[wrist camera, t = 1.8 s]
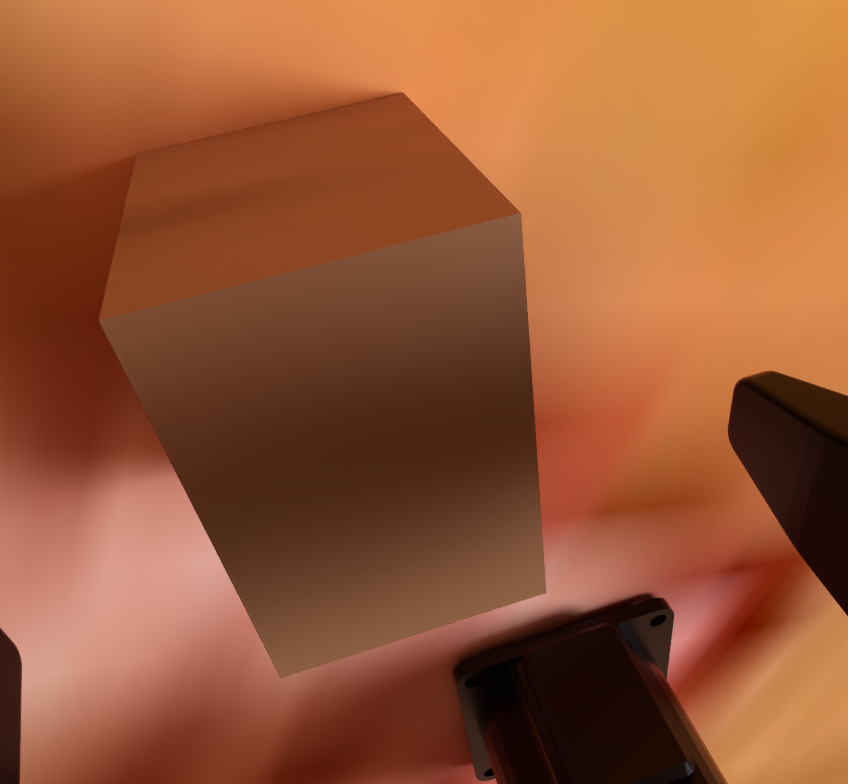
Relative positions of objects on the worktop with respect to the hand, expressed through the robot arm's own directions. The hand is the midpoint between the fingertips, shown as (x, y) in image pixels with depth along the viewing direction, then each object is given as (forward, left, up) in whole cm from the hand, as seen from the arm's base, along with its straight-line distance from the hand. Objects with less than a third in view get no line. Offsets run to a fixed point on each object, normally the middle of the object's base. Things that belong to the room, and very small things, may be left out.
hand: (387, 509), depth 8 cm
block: (0, 0, -5) cm, 5 cm away
